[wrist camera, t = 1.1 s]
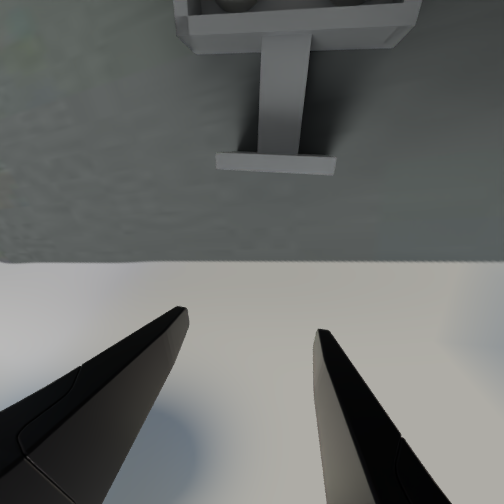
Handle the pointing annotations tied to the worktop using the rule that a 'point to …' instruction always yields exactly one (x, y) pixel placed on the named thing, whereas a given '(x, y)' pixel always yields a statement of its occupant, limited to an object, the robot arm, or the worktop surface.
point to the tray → (288, 61)
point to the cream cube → (347, 2)
